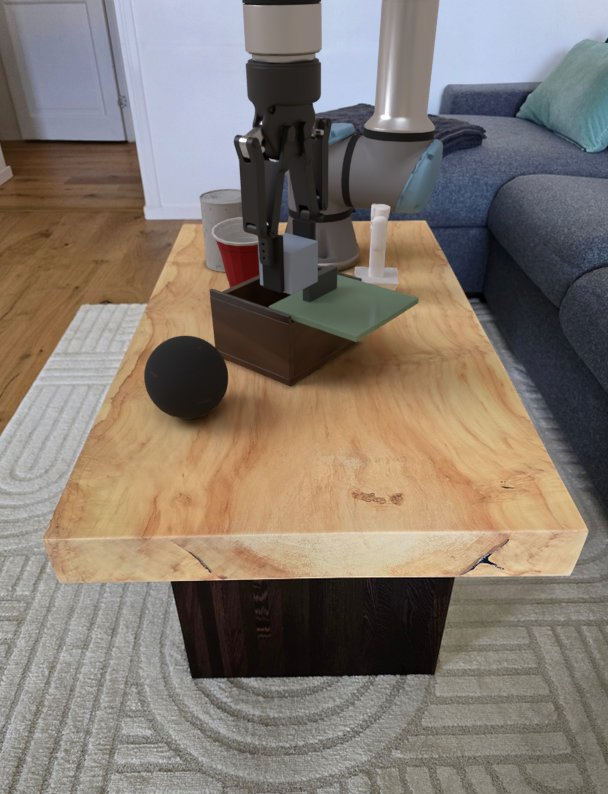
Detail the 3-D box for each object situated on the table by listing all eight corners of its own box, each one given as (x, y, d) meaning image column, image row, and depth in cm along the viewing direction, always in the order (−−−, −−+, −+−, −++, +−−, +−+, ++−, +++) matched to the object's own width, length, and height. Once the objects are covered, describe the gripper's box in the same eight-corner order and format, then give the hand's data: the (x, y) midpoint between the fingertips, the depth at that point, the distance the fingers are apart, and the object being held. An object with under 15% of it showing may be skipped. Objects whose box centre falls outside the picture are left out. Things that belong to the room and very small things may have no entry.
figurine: (395, 285, 112) (402, 197, 103) (396, 307, 104) (404, 214, 95) (354, 284, 112) (358, 196, 103) (352, 306, 105) (356, 213, 96)
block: (286, 272, 80) (285, 232, 77) (317, 281, 77) (318, 240, 74) (260, 285, 77) (257, 244, 74) (292, 295, 74) (291, 253, 71)
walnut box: (287, 317, 101) (285, 256, 95) (358, 342, 94) (362, 278, 88) (215, 355, 91) (208, 289, 85) (290, 386, 84) (288, 317, 78)
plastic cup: (210, 310, 104) (203, 236, 97) (225, 284, 113) (219, 215, 105) (275, 313, 103) (273, 239, 96) (286, 287, 111) (284, 217, 104)
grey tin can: (233, 250, 126) (228, 186, 119) (266, 262, 121) (263, 195, 114) (195, 263, 121) (188, 196, 113) (229, 276, 116) (223, 207, 108)
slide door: (334, 278, 90) (335, 252, 88) (418, 303, 83) (421, 275, 81) (268, 312, 82) (267, 283, 79) (356, 342, 75) (357, 312, 72)
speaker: (240, 395, 83) (234, 324, 77) (218, 439, 75) (210, 364, 69) (167, 388, 84) (156, 318, 78) (138, 430, 76) (123, 356, 70)
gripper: (309, 46, 70) (310, 253, 84) (190, 63, 59) (214, 298, 73) (365, 50, 66) (357, 266, 80) (250, 69, 55) (263, 315, 69)
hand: (289, 281), depth 77 cm, fingers closed on block, 5 cm apart
